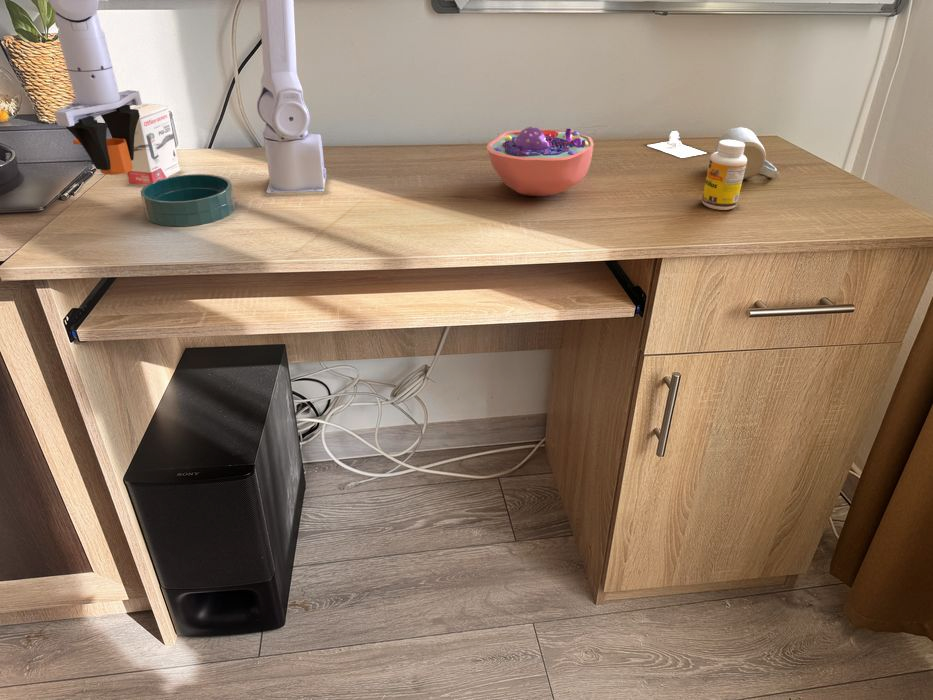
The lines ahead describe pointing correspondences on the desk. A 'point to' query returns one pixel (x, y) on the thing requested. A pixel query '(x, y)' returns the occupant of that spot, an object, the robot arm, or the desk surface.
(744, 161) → the supplement bottle
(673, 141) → the adhesive hook
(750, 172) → the ceramic mug
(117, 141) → the scoop
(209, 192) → the bowl
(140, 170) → the ink box
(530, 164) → the cell model
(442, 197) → the desk surface
